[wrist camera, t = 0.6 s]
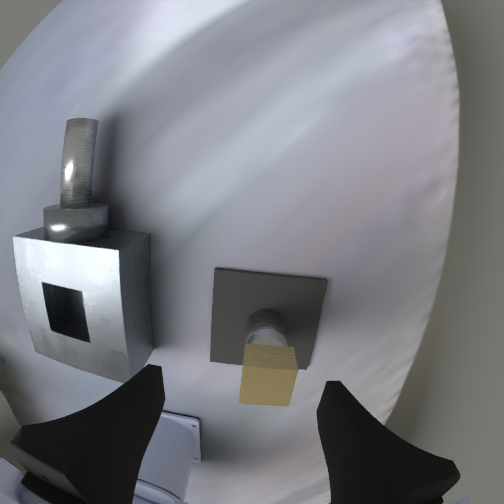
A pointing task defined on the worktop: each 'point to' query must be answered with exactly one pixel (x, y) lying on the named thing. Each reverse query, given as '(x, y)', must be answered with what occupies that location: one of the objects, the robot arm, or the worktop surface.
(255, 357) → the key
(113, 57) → the worktop surface
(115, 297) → the chuck
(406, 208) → the worktop surface
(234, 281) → the mat
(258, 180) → the worktop surface
